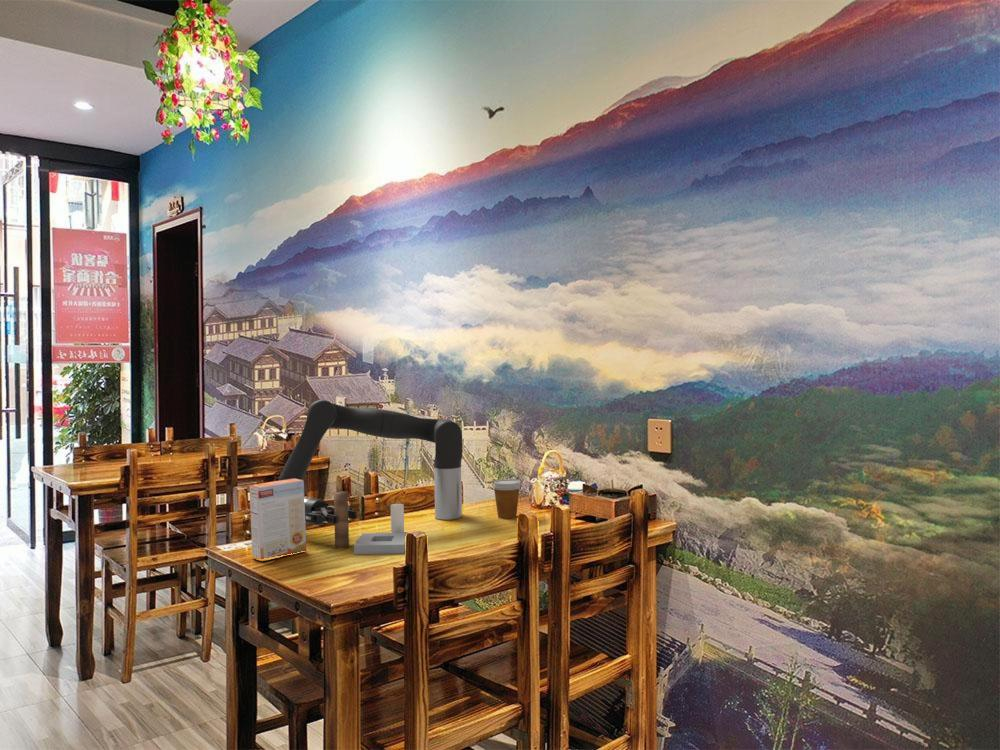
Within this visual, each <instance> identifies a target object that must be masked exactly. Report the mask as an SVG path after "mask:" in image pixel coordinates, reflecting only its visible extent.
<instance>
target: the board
mask: <svg viewBox="0 0 1000 750" xmlns="http://www.w3.org/2000/svg"><path fill="white" fill-rule="evenodd" d="M407 533H408V531H404V532H395V533H391V532H363V533H362V534H361V535H360V536H359V538H358V539H357V541H356V542H355V544H354V545H353V555H380V554H381V555H385V554H388V555H391V554H395V555H396V554H405V552H406V550H405V536H406V534H407ZM404 551H405V552H404Z"/></svg>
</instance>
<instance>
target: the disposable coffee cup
mask: <svg viewBox="0 0 1000 750" xmlns="http://www.w3.org/2000/svg"><path fill="white" fill-rule="evenodd" d="M492 487H493V490H494V498H495V504H496V505H495V506H496V512H497V518H499V519H502V518H503V519H504V520H505V519H506V520H510V519H515V518H517V514H518V504H519V495H520V494H519V493H520V487H521V484H520V480H517V479H497V480H494V481H493V485H492Z"/></svg>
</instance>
